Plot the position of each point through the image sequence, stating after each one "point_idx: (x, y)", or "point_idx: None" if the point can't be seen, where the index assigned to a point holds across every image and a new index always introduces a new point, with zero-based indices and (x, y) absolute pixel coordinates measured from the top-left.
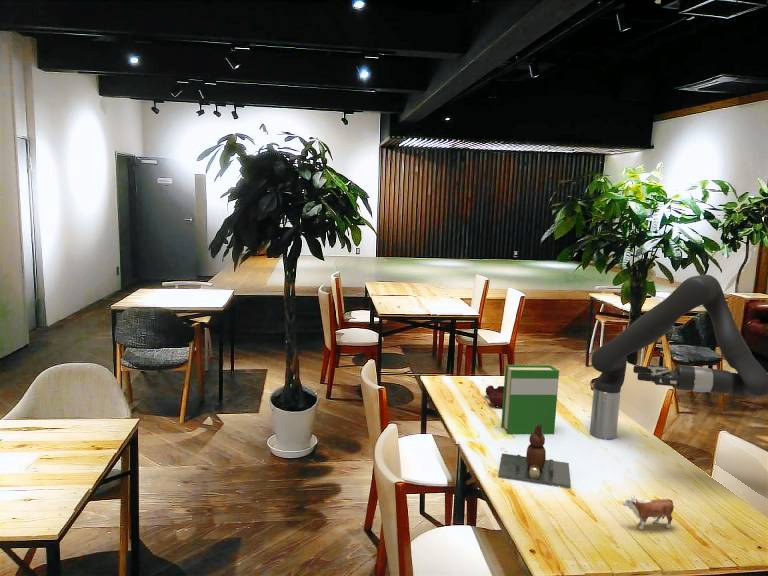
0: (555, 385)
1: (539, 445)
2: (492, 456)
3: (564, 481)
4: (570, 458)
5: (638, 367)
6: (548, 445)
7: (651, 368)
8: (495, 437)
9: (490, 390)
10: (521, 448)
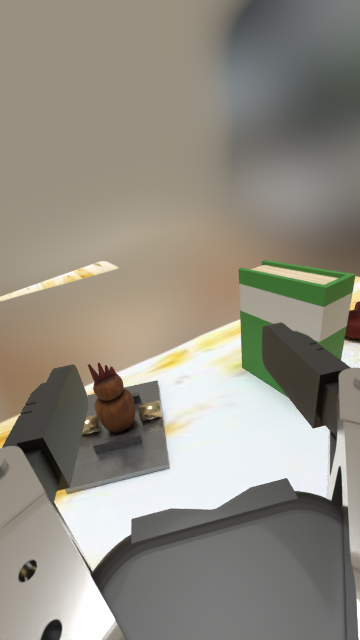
0: (315, 320)
1: (96, 395)
2: (152, 377)
3: (79, 475)
4: (210, 464)
5: (277, 342)
6: (245, 418)
7: (338, 414)
8: (219, 362)
9: (356, 306)
10: (201, 392)
